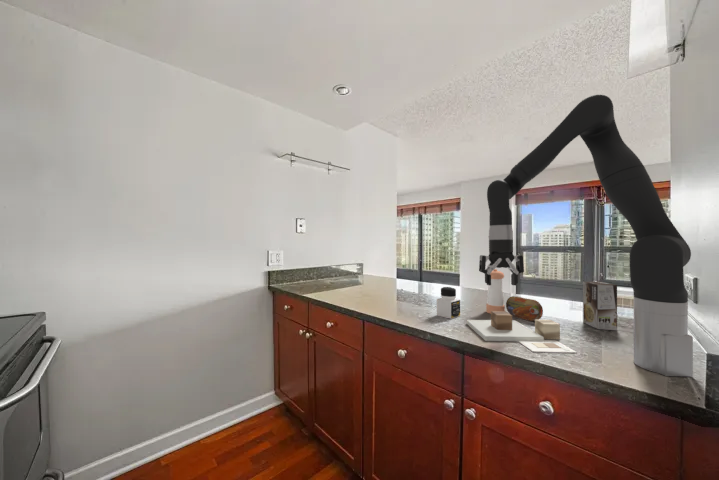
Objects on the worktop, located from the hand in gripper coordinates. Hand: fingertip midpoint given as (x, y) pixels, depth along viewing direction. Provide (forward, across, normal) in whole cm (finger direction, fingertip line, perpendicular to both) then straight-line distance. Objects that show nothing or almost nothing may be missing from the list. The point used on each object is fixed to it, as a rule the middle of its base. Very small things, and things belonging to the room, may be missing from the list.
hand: (501, 285), depth 97 cm
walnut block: (+15, 0, 0) cm, 15 cm away
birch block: (+17, +13, -4) cm, 21 cm away
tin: (+17, +17, +18) cm, 30 cm away
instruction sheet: (+16, +7, -13) cm, 22 cm away
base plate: (+16, 0, 0) cm, 16 cm away
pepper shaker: (+16, +9, +26) cm, 32 cm away
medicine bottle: (+16, -13, +20) cm, 29 cm away
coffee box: (+17, +39, +8) cm, 43 cm away
